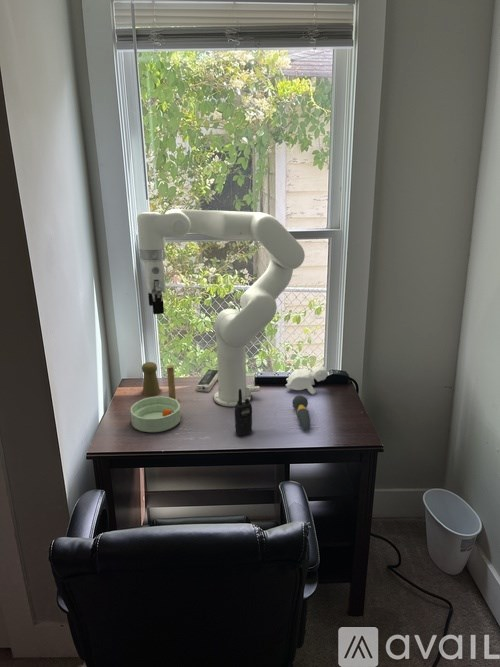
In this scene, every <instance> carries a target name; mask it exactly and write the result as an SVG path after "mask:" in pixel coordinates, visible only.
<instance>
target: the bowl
mask: <svg viewBox="0 0 500 667" xmlns="http://www.w3.org/2000/svg"><path fill="white" fill-rule="evenodd" d="M165 409H169V410H171V412H172V414H170V415H167V416H164V417H163V415H162V413H163V411H164V410H165ZM129 410H130V418H131V419H130V422H131V426H132V427H133V428H134V429H135V430H138V431H140V432H144V433H145V432H146V433H159V432H164V431H167V430H171V429H173V428H174V427H176V426H177V425H178V424H179V423H180V422H181V419H182V415H181V413H182V412H181V404H180V402H179V400H178V399H177V400H175V399H173V398H170V397H169V396H149V397H146V398H143V399H140V400H138V401H136V402H134V403H133V405H131V407H130V408H129Z"/></svg>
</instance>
